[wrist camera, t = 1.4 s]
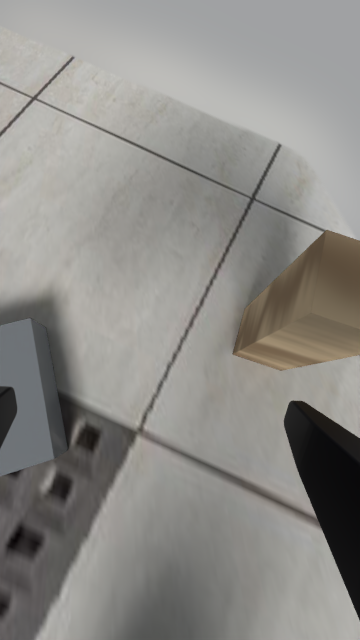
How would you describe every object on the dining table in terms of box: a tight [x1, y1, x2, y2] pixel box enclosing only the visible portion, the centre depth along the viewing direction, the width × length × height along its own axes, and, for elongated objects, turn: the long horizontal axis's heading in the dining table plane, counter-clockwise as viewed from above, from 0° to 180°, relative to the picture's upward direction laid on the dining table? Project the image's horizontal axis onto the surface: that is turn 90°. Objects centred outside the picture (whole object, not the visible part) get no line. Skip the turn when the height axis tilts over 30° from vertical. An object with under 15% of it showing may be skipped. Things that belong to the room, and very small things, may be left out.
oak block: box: [233, 230, 360, 371], centre depth 19 cm, size 4×4×12 cm
